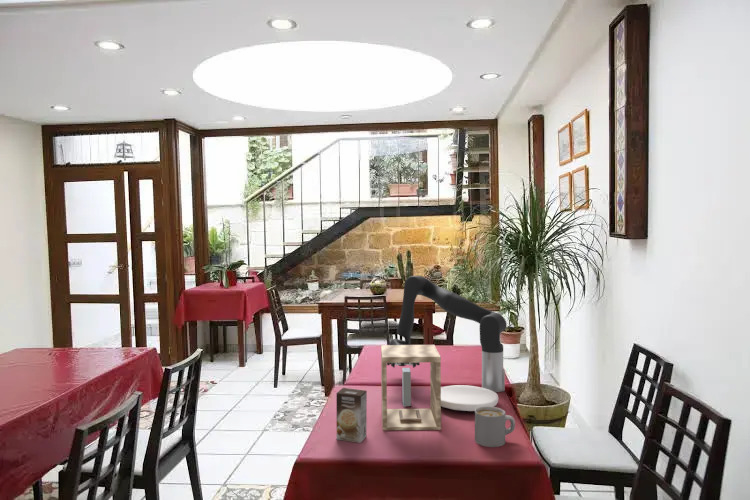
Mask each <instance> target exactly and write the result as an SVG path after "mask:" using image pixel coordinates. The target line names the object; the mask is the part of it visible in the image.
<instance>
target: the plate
mask: <svg viewBox="0 0 750 500" xmlns="http://www.w3.org/2000/svg"><path fill="white" fill-rule="evenodd" d="M498 402H499V395H498V393H497V392H493V391H491V390H489V389H485V388H482V386H481V387H480V386H476V385H466V384H465V385H463V384H462V385H461V384H457V385H455V384H453V385H445V386H441V407H442V408H446V409H450V410H453V411H461V412H462V411H463V412H466V411H467V412H475V409H477V408H479V407H496V406H497V404H498Z"/></svg>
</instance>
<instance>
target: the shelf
mask: <svg viewBox="0 0 750 500" xmlns="http://www.w3.org/2000/svg"><path fill="white" fill-rule="evenodd" d="M380 347H381V348H380V350H381V351H380V355H381V356H380V359H381V360H380V361H381V364H380V365H381V367H380V368H381V371H380V373H381V374H380V375H381V377H380V378H381V381H380V382H381V424H382V431H425V430H426V431H436V430H438V431H440V430H442V417H441V416H442V408H441V407H442V406H441V387H442V384H441V383H442V382H441V381H442V379H441V378H442V375H441V374H442V371H441V370H442V369H441V367H442V366H441V365H442V362H441V361H442V360H441V359H442V358H441V357H442V356H441V355H440V353H439V351H438V350H437V347H436V346H435V344H410V345H389V344H383V345H382V344H381V345H380ZM387 363H420V364H421V363H429V365H430V366H429V367H430V369H429V370H430V374H429V377H430V378H429V379H430V381H429V382H430V383H429V384H430V385H429V386H430V387H429V388H430V389H429V390H430V395H429V397H430V408H388V398H387V397H388V391H387V390H388V389H387V388H388V386H387V385H388V384H387V383H388V381H387V380H388V379H387V371H388V368H387V366H388V365H387Z"/></svg>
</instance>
